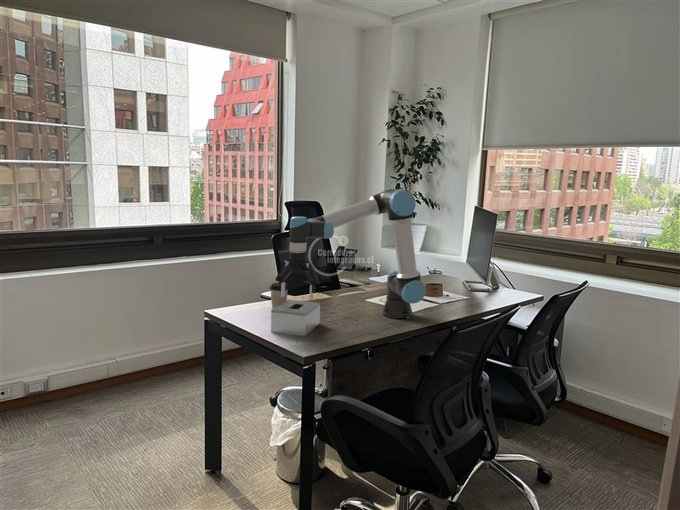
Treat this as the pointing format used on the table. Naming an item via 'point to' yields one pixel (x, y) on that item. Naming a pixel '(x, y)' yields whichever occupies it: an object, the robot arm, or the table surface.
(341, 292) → the table surface
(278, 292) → the coffee cup
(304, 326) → the box
